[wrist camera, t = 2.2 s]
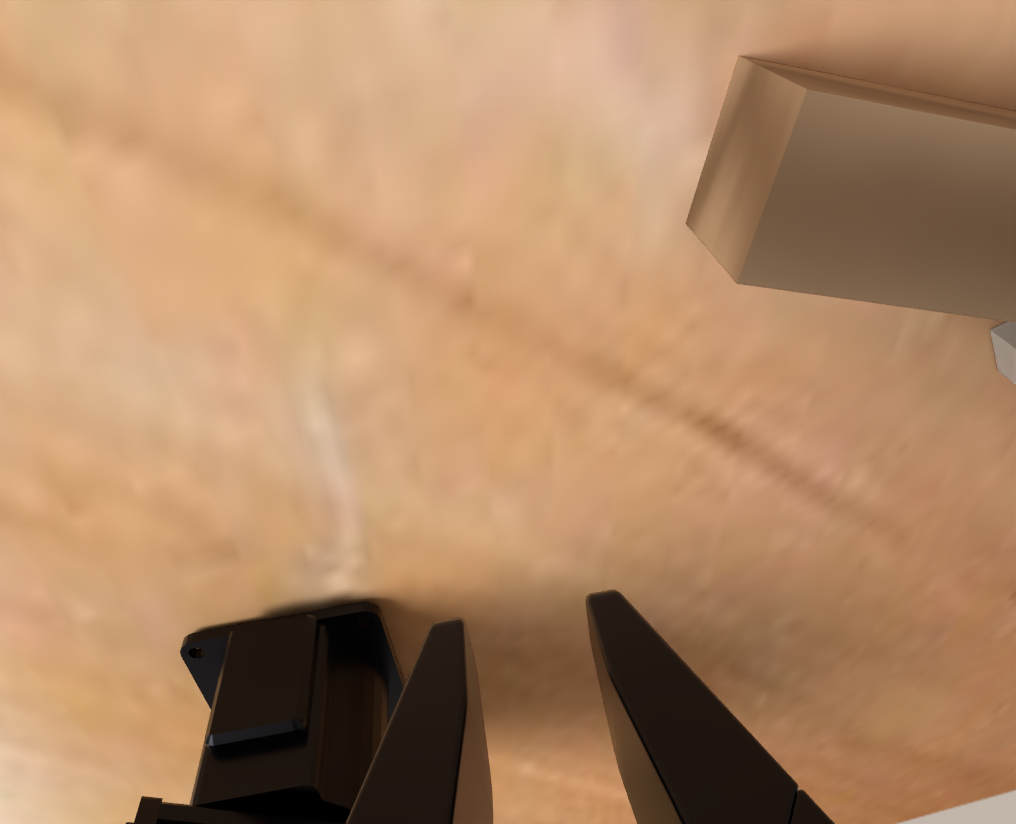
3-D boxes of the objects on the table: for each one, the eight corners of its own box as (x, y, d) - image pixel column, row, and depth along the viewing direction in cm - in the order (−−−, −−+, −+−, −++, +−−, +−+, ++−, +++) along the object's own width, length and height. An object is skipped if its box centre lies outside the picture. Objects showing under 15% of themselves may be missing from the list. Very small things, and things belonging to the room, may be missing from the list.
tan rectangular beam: (1075, 280, 23) (1190, 347, 20) (682, 219, 21) (736, 283, 17) (1161, 138, 21) (1305, 186, 17) (734, 53, 18) (807, 89, 15)
